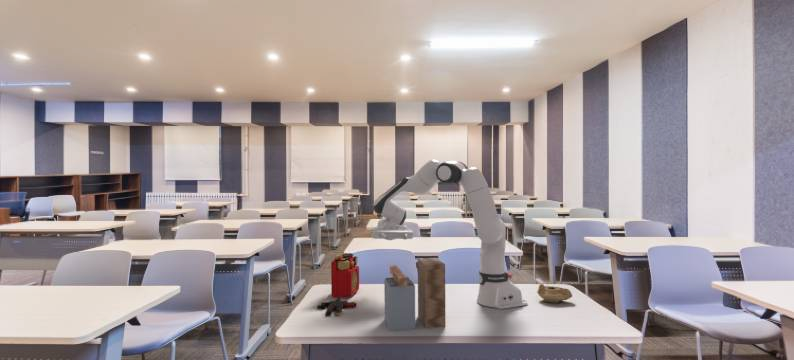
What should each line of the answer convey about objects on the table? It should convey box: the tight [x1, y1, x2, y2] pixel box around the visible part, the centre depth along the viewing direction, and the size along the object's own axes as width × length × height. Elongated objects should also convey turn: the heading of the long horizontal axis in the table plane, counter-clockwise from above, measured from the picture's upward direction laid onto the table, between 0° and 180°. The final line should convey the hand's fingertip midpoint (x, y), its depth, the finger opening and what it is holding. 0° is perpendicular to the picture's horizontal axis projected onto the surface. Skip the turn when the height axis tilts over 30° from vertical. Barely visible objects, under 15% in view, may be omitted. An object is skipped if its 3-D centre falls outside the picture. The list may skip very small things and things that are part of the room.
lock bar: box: [389, 264, 408, 286], centre depth 150 cm, size 3×22×3 cm, turn 10°
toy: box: [316, 297, 357, 317], centre depth 164 cm, size 15×16×3 cm
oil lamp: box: [536, 283, 573, 304], centre depth 173 cm, size 11×15×8 cm
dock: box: [383, 276, 416, 332], centre depth 147 cm, size 10×12×17 cm
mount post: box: [417, 257, 447, 329], centre depth 149 cm, size 8×12×24 cm, turn 10°
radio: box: [330, 253, 360, 299], centre depth 187 cm, size 16×10×20 cm, turn 168°
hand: (395, 237), depth 176 cm, fingers open, 8 cm apart
